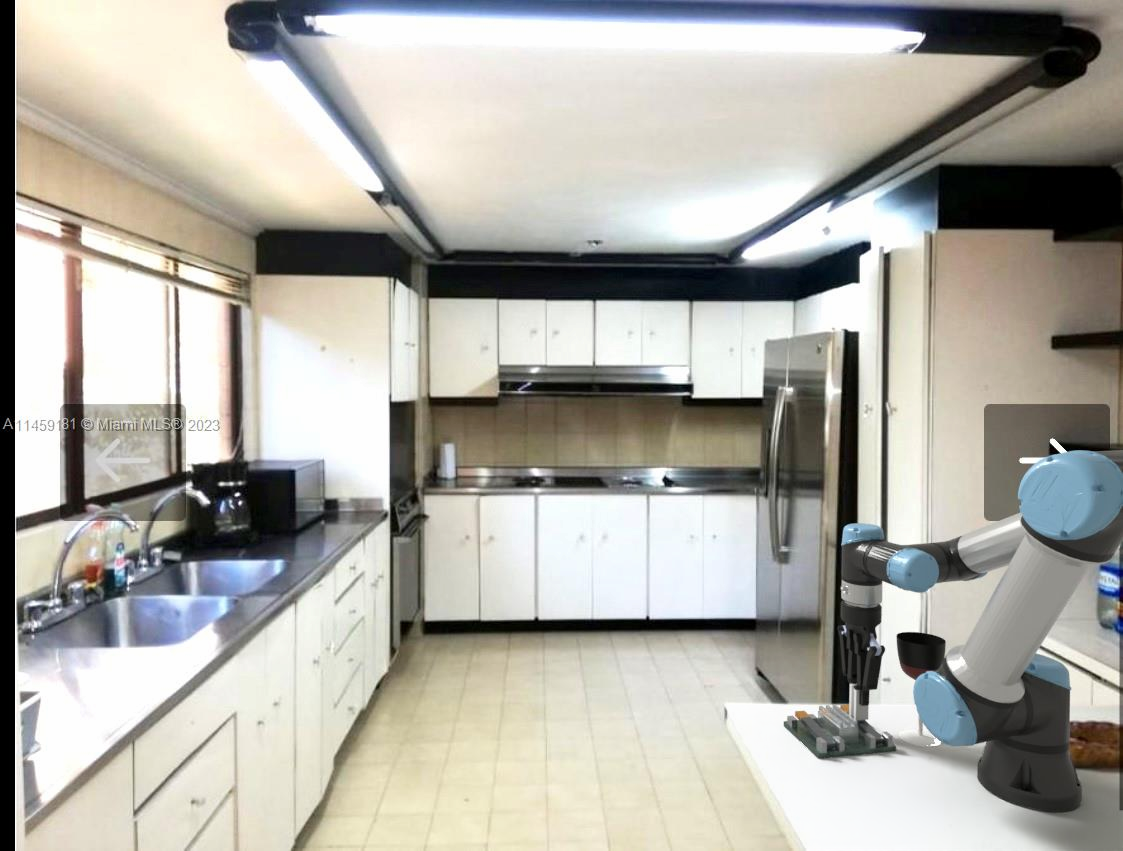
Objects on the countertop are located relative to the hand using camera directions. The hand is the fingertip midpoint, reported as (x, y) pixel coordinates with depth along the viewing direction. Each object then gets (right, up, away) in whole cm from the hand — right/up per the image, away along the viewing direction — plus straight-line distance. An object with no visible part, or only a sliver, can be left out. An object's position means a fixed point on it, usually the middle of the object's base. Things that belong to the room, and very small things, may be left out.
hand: (858, 717), depth 144 cm
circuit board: (-5, -4, -1) cm, 6 cm away
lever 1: (-10, -2, -2) cm, 10 cm away
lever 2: (0, -1, -1) cm, 2 cm away
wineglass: (+11, -4, -2) cm, 12 cm away
